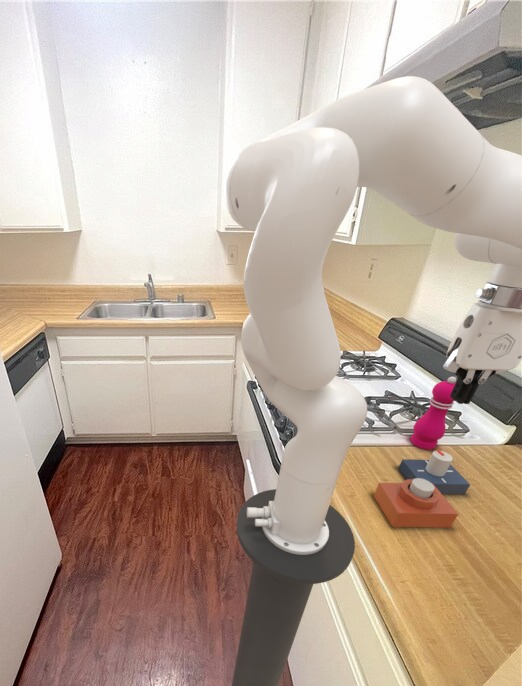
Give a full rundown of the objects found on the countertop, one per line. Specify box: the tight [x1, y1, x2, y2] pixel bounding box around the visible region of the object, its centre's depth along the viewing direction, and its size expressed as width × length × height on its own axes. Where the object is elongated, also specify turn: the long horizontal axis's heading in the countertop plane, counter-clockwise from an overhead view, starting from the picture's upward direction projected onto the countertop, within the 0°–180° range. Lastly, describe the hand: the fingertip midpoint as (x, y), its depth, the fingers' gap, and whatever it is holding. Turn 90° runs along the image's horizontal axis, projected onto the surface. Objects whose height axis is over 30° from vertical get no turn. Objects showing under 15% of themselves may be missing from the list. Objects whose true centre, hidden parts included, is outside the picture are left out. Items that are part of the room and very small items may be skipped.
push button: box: [409, 478, 434, 498], centre depth 71 cm, size 4×4×2 cm
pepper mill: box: [410, 376, 457, 450], centre depth 91 cm, size 7×7×20 cm
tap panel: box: [398, 458, 471, 495], centre depth 82 cm, size 11×9×3 cm
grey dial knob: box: [426, 449, 454, 477], centre depth 80 cm, size 4×4×5 cm
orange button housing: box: [373, 479, 459, 529], centre depth 73 cm, size 12×9×6 cm
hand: (459, 400), depth 64 cm, fingers closed
